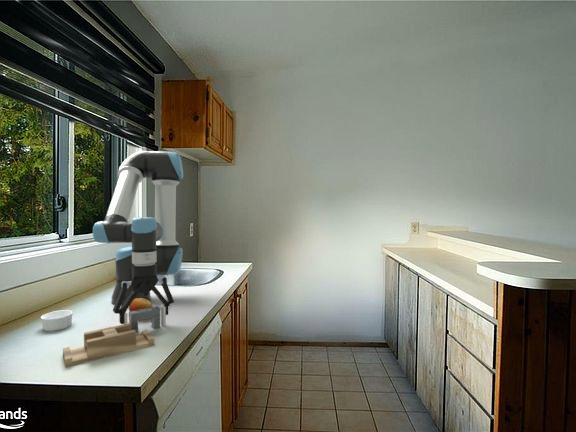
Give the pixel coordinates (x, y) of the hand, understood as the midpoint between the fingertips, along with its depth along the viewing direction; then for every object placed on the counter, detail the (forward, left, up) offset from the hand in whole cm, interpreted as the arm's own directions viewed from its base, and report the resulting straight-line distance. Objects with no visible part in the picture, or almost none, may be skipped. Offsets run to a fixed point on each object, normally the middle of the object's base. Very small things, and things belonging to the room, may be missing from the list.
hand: (144, 328), depth 109 cm
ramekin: (-20, -23, -1) cm, 30 cm away
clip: (0, 0, 0) cm, 0 cm away
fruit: (-13, +2, 0) cm, 13 cm away
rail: (+10, -12, 0) cm, 16 cm away
